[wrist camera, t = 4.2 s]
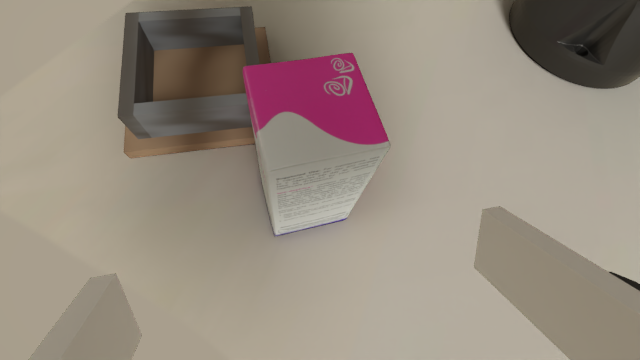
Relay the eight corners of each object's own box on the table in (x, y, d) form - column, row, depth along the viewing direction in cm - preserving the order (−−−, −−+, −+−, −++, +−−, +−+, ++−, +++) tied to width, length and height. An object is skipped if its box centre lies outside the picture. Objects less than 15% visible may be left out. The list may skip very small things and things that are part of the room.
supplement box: (349, 219, 23) (395, 148, 13) (273, 238, 22) (256, 177, 12) (329, 154, 25) (354, 47, 15) (259, 168, 24) (233, 64, 14)
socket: (265, 35, 30) (262, -3, 26) (282, 140, 26) (280, 112, 22) (136, 44, 28) (113, 5, 25) (130, 158, 24) (100, 131, 20)
